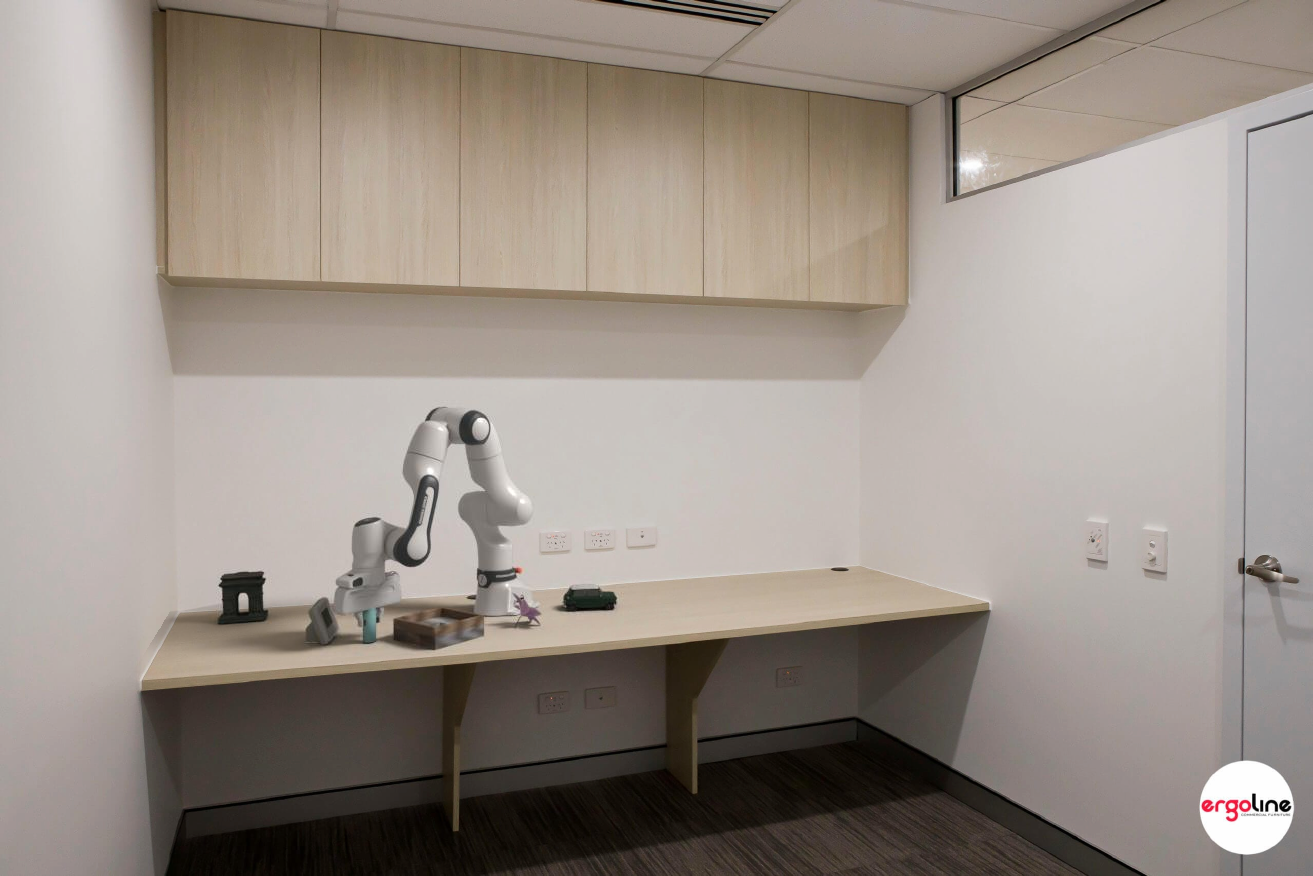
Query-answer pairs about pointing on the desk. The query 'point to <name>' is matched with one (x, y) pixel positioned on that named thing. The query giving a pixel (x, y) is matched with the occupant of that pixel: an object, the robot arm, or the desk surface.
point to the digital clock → (321, 622)
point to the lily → (526, 610)
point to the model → (233, 588)
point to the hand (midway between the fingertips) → (369, 624)
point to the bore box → (438, 627)
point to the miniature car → (588, 597)
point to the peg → (369, 625)
